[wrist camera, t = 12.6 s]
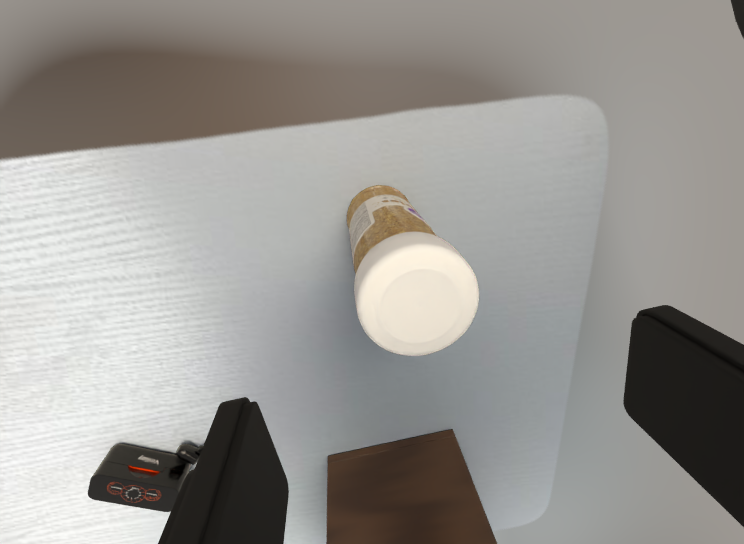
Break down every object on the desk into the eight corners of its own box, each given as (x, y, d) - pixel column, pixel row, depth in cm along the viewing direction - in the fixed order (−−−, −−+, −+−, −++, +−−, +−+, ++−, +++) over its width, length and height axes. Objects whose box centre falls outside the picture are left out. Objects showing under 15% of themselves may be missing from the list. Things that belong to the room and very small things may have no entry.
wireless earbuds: (196, 479, 33) (182, 514, 30) (110, 462, 31) (86, 498, 28) (209, 441, 31) (196, 475, 28) (119, 421, 30) (95, 455, 27)
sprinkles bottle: (422, 201, 25) (508, 278, 13) (391, 258, 27) (441, 376, 14) (363, 171, 24) (395, 223, 12) (333, 232, 26) (334, 335, 13)
